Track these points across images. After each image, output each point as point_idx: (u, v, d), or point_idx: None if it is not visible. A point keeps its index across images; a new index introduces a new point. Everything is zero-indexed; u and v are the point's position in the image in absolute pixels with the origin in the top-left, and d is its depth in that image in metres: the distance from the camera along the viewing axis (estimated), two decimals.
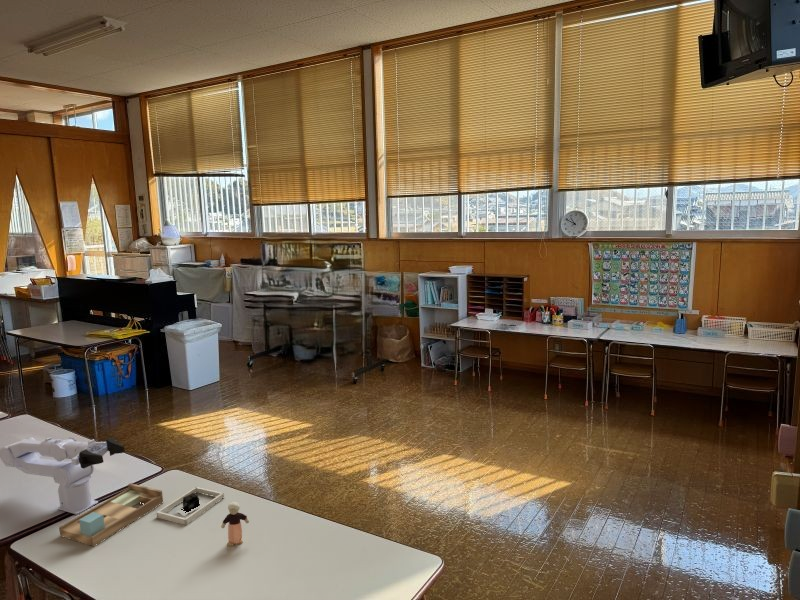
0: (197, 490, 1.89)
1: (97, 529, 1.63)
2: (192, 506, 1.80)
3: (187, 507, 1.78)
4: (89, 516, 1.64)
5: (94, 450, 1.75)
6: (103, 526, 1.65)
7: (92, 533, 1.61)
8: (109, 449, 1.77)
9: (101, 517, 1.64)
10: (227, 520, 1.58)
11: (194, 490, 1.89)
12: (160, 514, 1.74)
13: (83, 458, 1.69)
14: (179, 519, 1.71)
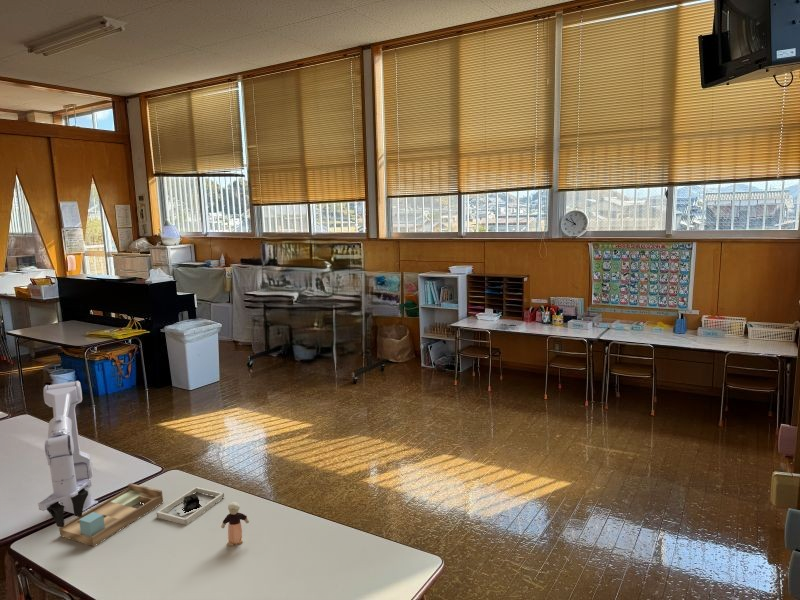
0: (197, 490, 1.89)
1: (97, 529, 1.63)
2: (192, 507, 1.79)
3: (186, 507, 1.77)
4: (89, 516, 1.64)
5: None
6: (103, 526, 1.65)
7: (92, 533, 1.61)
8: (74, 495, 1.58)
9: (101, 517, 1.64)
10: (227, 520, 1.58)
11: (194, 490, 1.89)
12: (160, 514, 1.74)
13: None
14: (179, 519, 1.71)
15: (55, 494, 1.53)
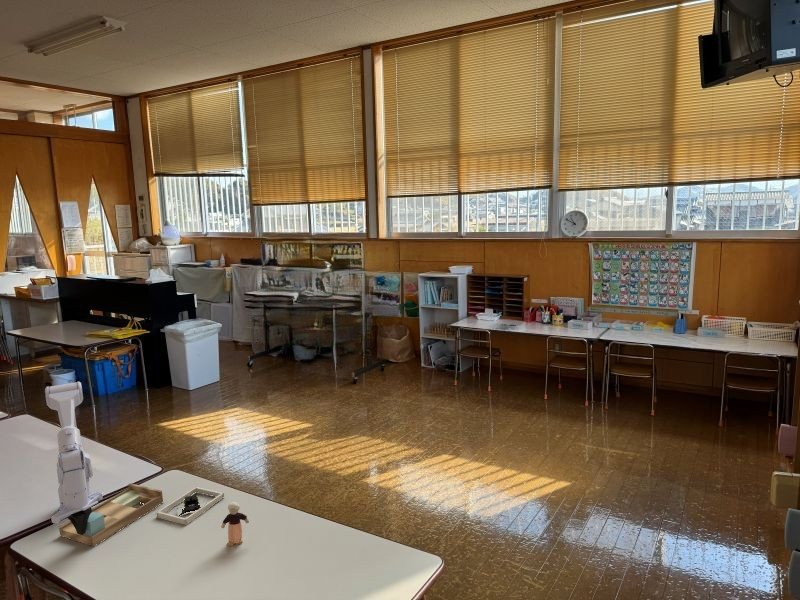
0: (197, 490, 1.89)
1: (97, 529, 1.63)
2: (191, 508, 1.78)
3: (185, 508, 1.77)
4: (90, 516, 1.64)
5: None
6: (103, 526, 1.65)
7: (92, 533, 1.61)
8: None
9: (101, 517, 1.64)
10: (227, 520, 1.58)
11: (194, 490, 1.89)
12: (160, 514, 1.74)
13: None
14: (179, 519, 1.71)
15: (67, 507, 1.56)
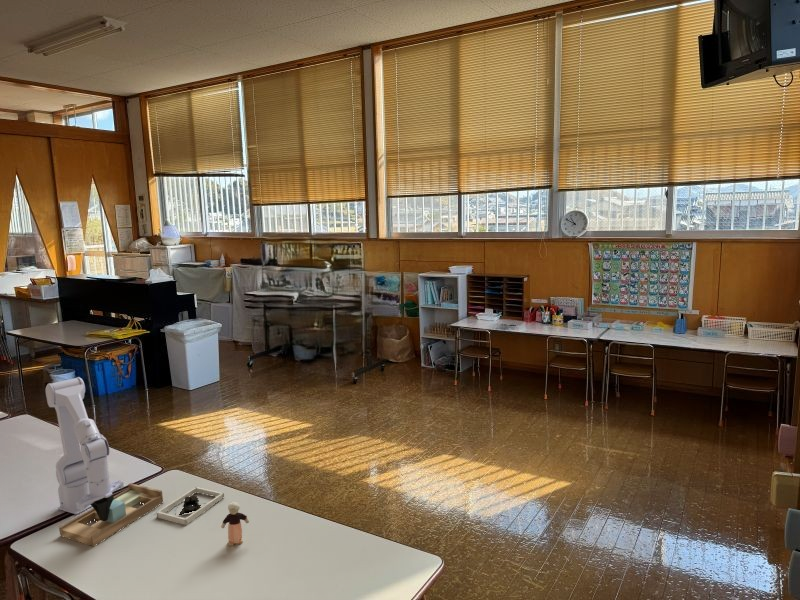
0: (197, 490, 1.89)
1: (119, 516, 1.69)
2: (191, 508, 1.78)
3: (184, 508, 1.77)
4: None
5: None
6: (124, 513, 1.71)
7: (114, 520, 1.68)
8: None
9: (122, 505, 1.71)
10: (227, 520, 1.58)
11: (194, 490, 1.89)
12: (160, 514, 1.74)
13: None
14: (179, 519, 1.71)
15: (91, 494, 1.63)
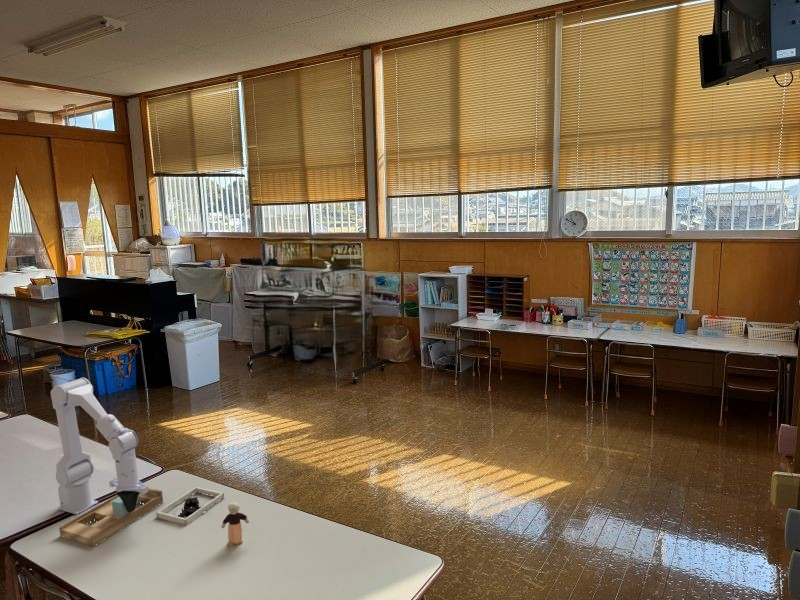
0: (197, 490, 1.89)
1: None
2: (191, 510, 1.77)
3: (184, 510, 1.76)
4: None
5: None
6: None
7: (124, 514, 1.71)
8: None
9: None
10: (227, 520, 1.58)
11: (194, 490, 1.89)
12: (160, 514, 1.74)
13: None
14: (179, 519, 1.71)
15: None
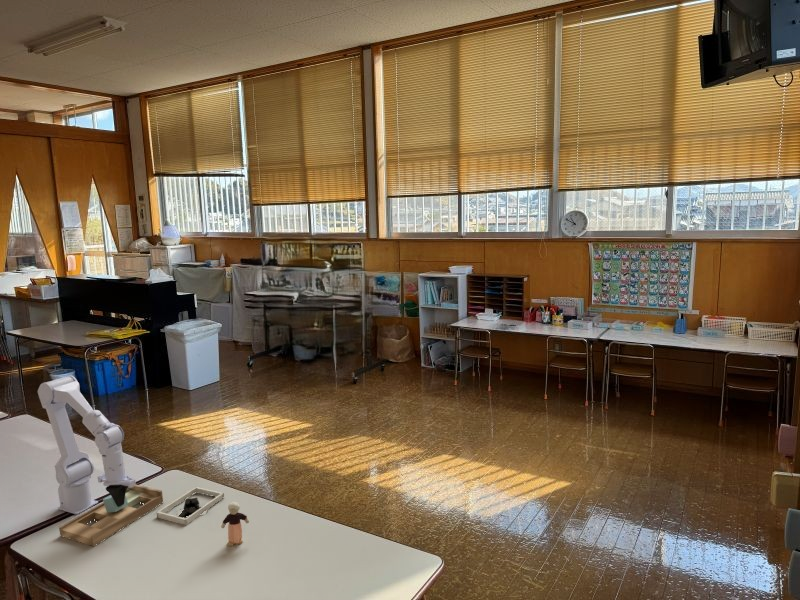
0: (197, 490, 1.89)
1: None
2: (191, 511, 1.77)
3: (184, 510, 1.76)
4: None
5: None
6: (126, 502, 1.76)
7: (116, 508, 1.72)
8: None
9: None
10: (227, 520, 1.58)
11: (194, 490, 1.89)
12: (160, 514, 1.74)
13: None
14: (179, 519, 1.71)
15: None
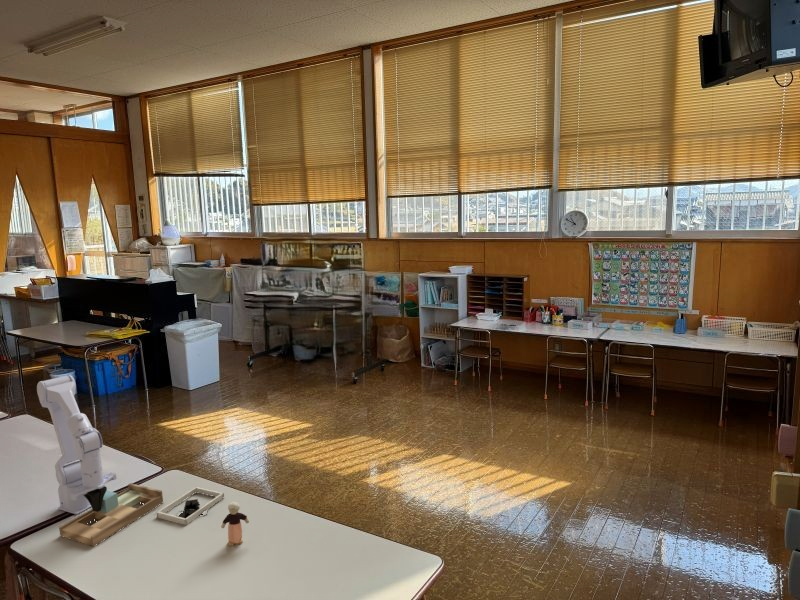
0: (197, 490, 1.89)
1: (111, 506, 1.75)
2: (191, 512, 1.76)
3: (185, 512, 1.75)
4: None
5: None
6: (117, 503, 1.77)
7: (107, 510, 1.74)
8: None
9: (115, 495, 1.76)
10: (227, 520, 1.58)
11: (194, 490, 1.89)
12: (160, 514, 1.74)
13: None
14: (179, 519, 1.71)
15: (84, 486, 1.69)
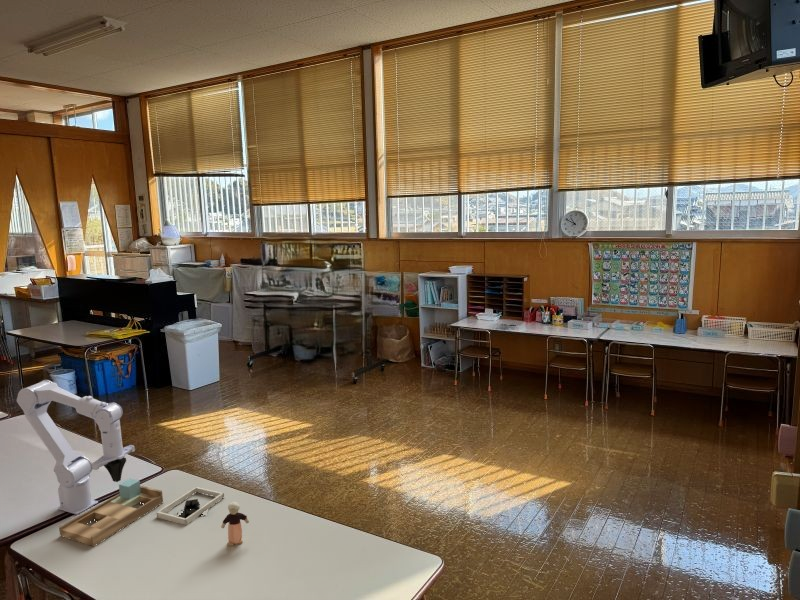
0: (197, 490, 1.89)
1: (134, 493, 1.83)
2: (192, 512, 1.76)
3: (185, 511, 1.75)
4: (127, 482, 1.84)
5: None
6: (139, 491, 1.85)
7: (130, 496, 1.82)
8: None
9: (138, 483, 1.84)
10: (227, 520, 1.58)
11: (194, 490, 1.89)
12: (160, 514, 1.74)
13: None
14: (179, 519, 1.71)
15: (105, 456, 1.75)
